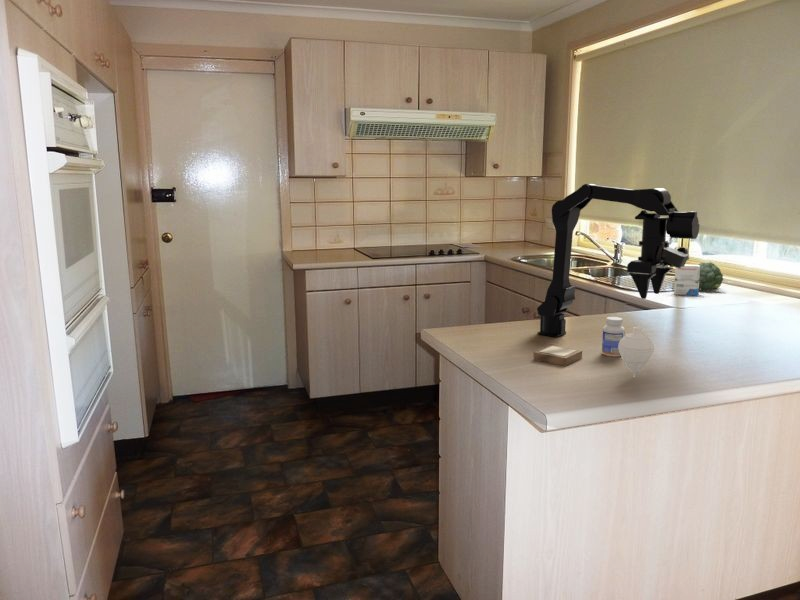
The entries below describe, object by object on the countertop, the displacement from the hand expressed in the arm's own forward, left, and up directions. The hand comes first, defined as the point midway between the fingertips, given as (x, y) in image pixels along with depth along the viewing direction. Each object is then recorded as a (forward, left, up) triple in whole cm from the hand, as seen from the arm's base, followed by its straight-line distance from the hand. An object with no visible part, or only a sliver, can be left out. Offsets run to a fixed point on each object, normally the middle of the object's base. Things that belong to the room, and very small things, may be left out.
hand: (650, 296), depth 165 cm
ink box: (-18, +91, -15) cm, 94 cm away
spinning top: (+7, -26, -15) cm, 31 cm away
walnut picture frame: (-14, -23, -15) cm, 31 cm away
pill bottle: (-5, -10, -15) cm, 19 cm away
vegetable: (-15, +106, -15) cm, 108 cm away
